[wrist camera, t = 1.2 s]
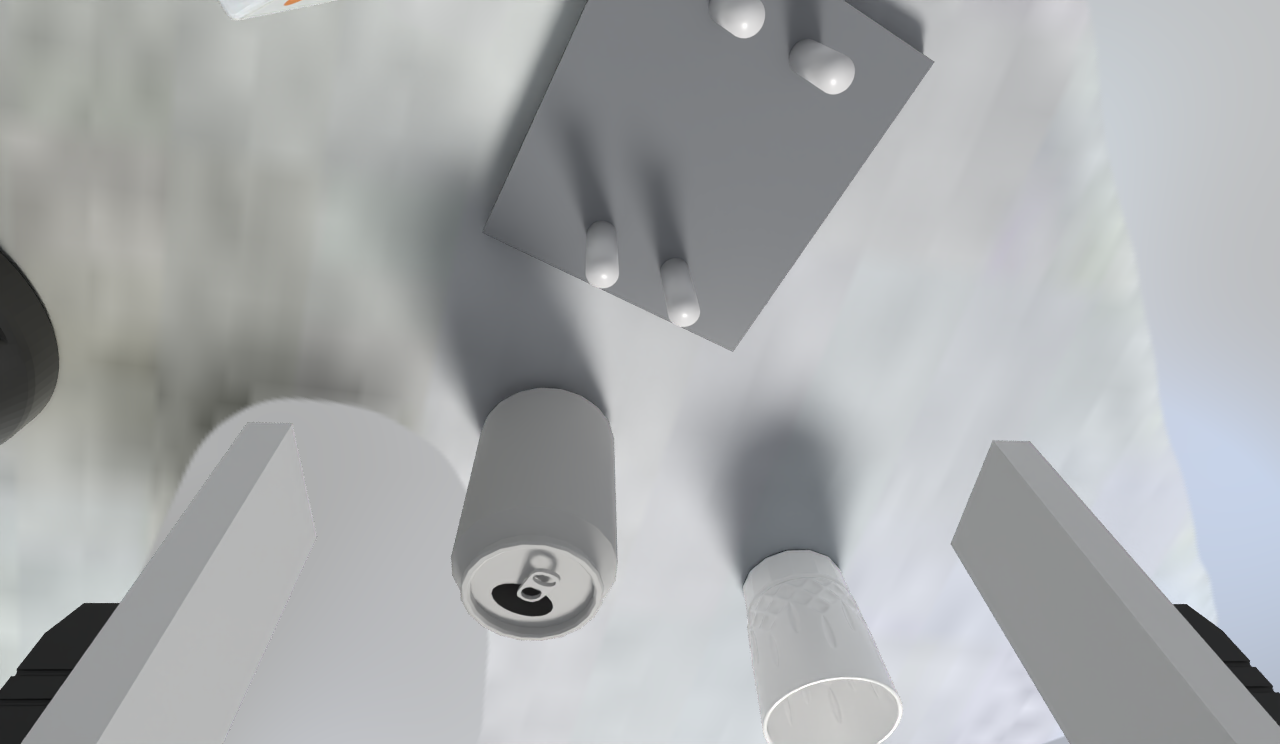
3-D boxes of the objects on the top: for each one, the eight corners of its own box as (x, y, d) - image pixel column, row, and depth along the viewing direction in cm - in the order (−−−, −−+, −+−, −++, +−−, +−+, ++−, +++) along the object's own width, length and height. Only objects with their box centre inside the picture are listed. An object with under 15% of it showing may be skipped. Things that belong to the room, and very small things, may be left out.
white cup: (793, 523, 46) (837, 657, 37) (873, 575, 48) (931, 711, 40) (710, 592, 49) (733, 731, 40) (790, 637, 51) (828, 776, 43)
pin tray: (485, 224, 34) (467, 270, 30) (647, -130, 27) (657, -145, 23) (729, 341, 38) (748, 398, 34) (923, 57, 31) (982, 79, 27)
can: (460, 452, 41) (415, 621, 31) (521, 356, 38) (492, 508, 28) (573, 501, 44) (564, 673, 34) (638, 415, 41) (651, 575, 30)
